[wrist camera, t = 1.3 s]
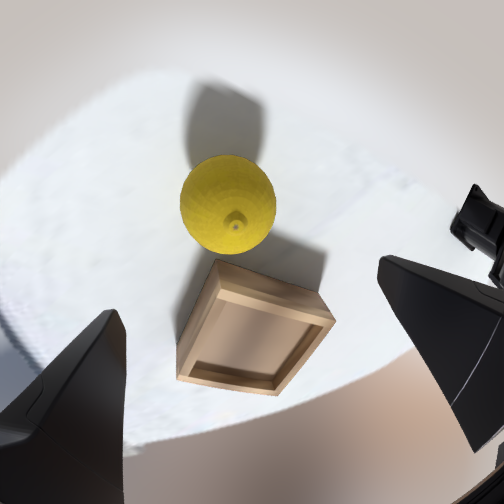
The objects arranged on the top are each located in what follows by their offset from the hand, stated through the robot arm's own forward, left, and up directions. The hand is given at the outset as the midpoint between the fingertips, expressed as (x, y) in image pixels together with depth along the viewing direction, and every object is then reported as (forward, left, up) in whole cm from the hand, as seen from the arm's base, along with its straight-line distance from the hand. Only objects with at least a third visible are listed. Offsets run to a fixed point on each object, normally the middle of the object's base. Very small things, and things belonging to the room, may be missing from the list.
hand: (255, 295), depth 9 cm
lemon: (0, 0, -13) cm, 13 cm away
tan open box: (-7, +10, -13) cm, 18 cm away
